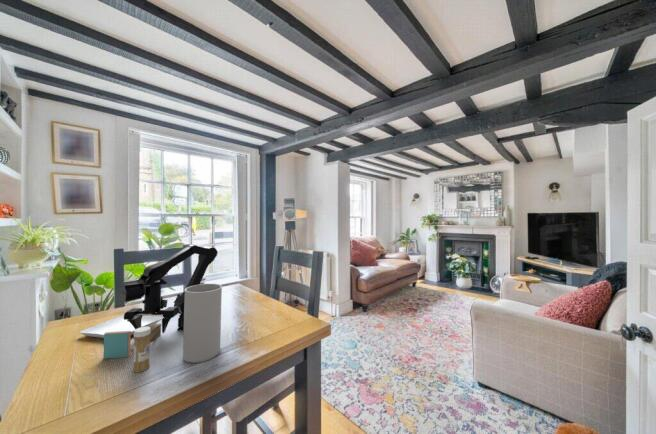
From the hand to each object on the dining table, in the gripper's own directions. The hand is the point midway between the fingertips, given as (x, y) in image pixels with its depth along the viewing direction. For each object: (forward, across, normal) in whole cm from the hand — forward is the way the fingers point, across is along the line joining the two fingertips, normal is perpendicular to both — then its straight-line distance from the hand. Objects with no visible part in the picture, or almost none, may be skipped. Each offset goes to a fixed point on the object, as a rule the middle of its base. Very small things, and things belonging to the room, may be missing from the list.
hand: (151, 333), depth 104 cm
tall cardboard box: (+3, 0, +3) cm, 4 cm away
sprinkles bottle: (+3, -8, +22) cm, 24 cm away
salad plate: (+3, +17, -11) cm, 21 cm away
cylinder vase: (+3, -25, +15) cm, 29 cm away
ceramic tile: (+3, +5, +13) cm, 14 cm away
